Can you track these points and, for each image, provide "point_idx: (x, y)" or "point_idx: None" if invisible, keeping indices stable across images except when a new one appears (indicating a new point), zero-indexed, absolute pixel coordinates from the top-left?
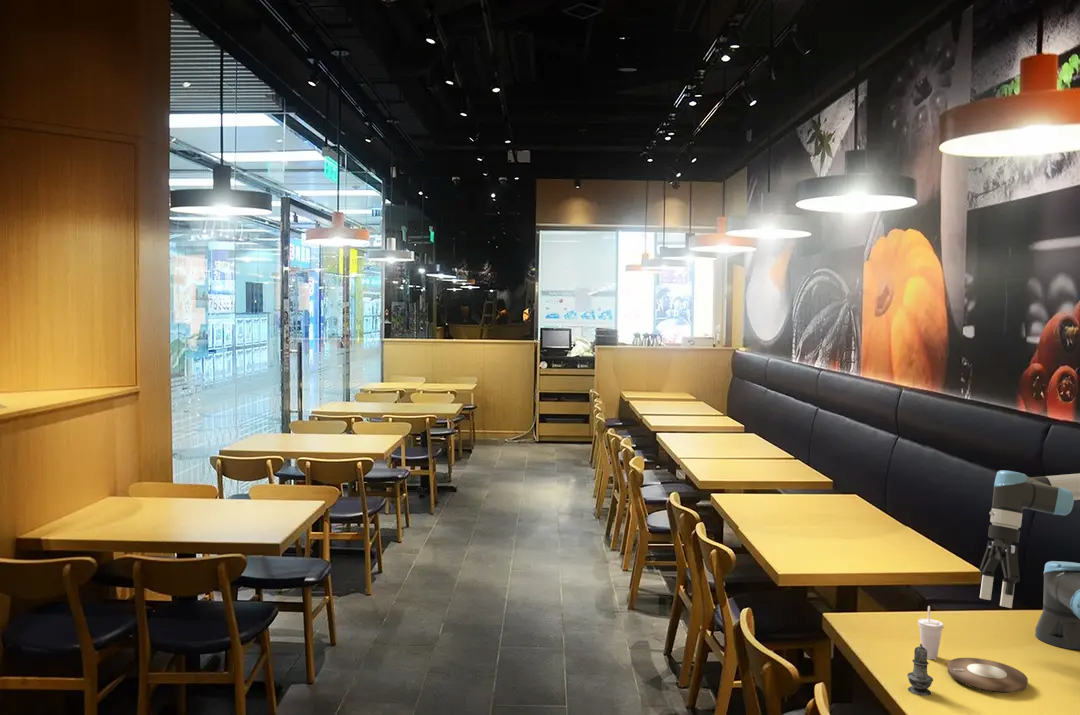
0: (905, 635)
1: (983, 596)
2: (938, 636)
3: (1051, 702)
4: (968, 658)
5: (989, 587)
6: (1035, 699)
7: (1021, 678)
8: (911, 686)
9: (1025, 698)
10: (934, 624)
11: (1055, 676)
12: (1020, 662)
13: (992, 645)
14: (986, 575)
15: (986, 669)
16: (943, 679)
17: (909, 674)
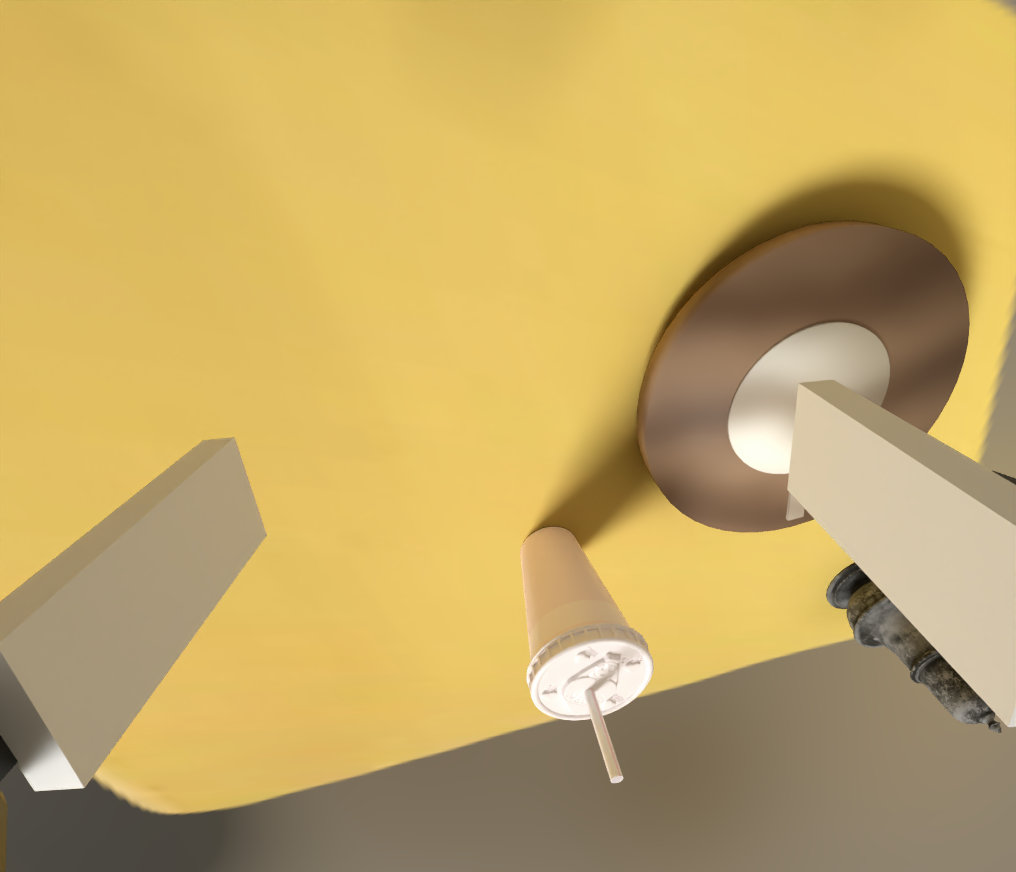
0: (300, 617)
1: (249, 526)
2: (616, 607)
3: (1009, 147)
4: (657, 452)
5: (155, 550)
6: (968, 218)
7: (893, 262)
8: (841, 605)
9: (952, 262)
10: (619, 668)
11: None
12: (491, 131)
13: (219, 236)
14: (2, 747)
15: (794, 402)
16: None
17: (877, 644)
